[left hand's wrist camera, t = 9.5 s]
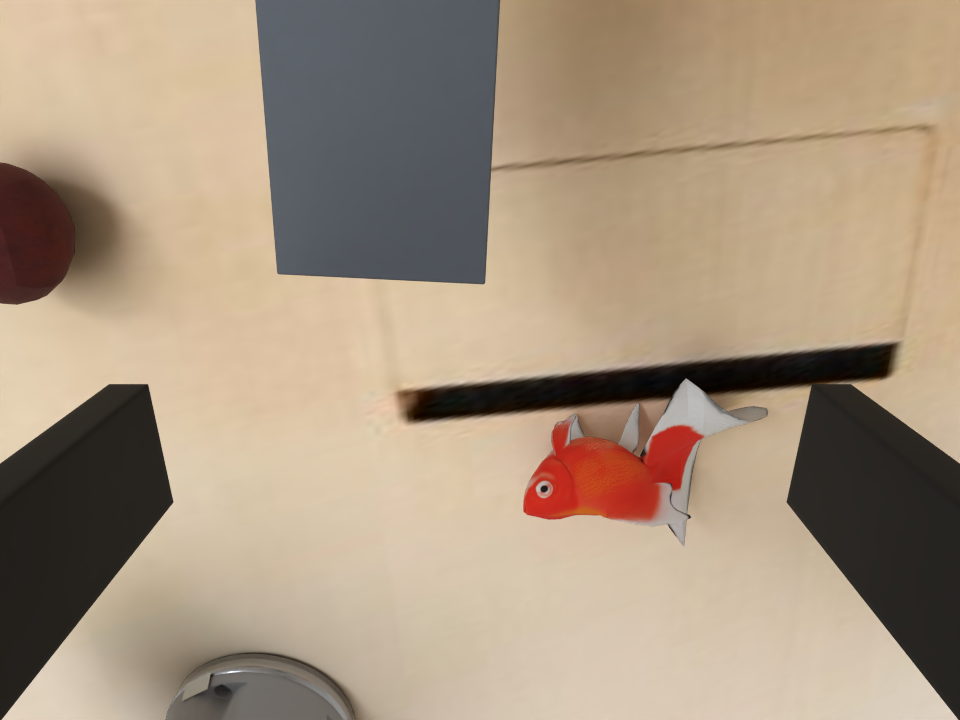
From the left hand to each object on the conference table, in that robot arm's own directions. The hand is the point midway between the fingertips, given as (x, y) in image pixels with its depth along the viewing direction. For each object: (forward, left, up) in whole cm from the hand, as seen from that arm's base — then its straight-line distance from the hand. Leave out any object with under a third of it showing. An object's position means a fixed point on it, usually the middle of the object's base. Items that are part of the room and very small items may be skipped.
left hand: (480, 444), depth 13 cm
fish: (-7, -15, -26) cm, 31 cm away
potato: (-14, +23, -26) cm, 37 cm away
